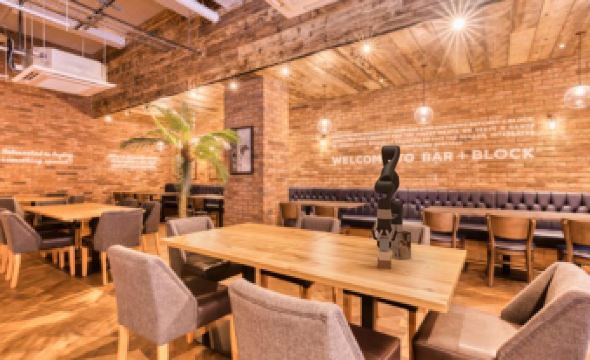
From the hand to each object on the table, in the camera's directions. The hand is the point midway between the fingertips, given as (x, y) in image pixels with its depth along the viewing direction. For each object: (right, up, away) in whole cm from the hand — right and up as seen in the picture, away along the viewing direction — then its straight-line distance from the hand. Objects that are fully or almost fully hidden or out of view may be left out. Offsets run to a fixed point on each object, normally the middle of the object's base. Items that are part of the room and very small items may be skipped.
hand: (384, 247), depth 163 cm
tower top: (0, -6, 0) cm, 6 cm away
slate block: (0, -1, 0) cm, 1 cm away
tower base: (0, -11, 0) cm, 11 cm away
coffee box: (+16, -11, +18) cm, 26 cm away
